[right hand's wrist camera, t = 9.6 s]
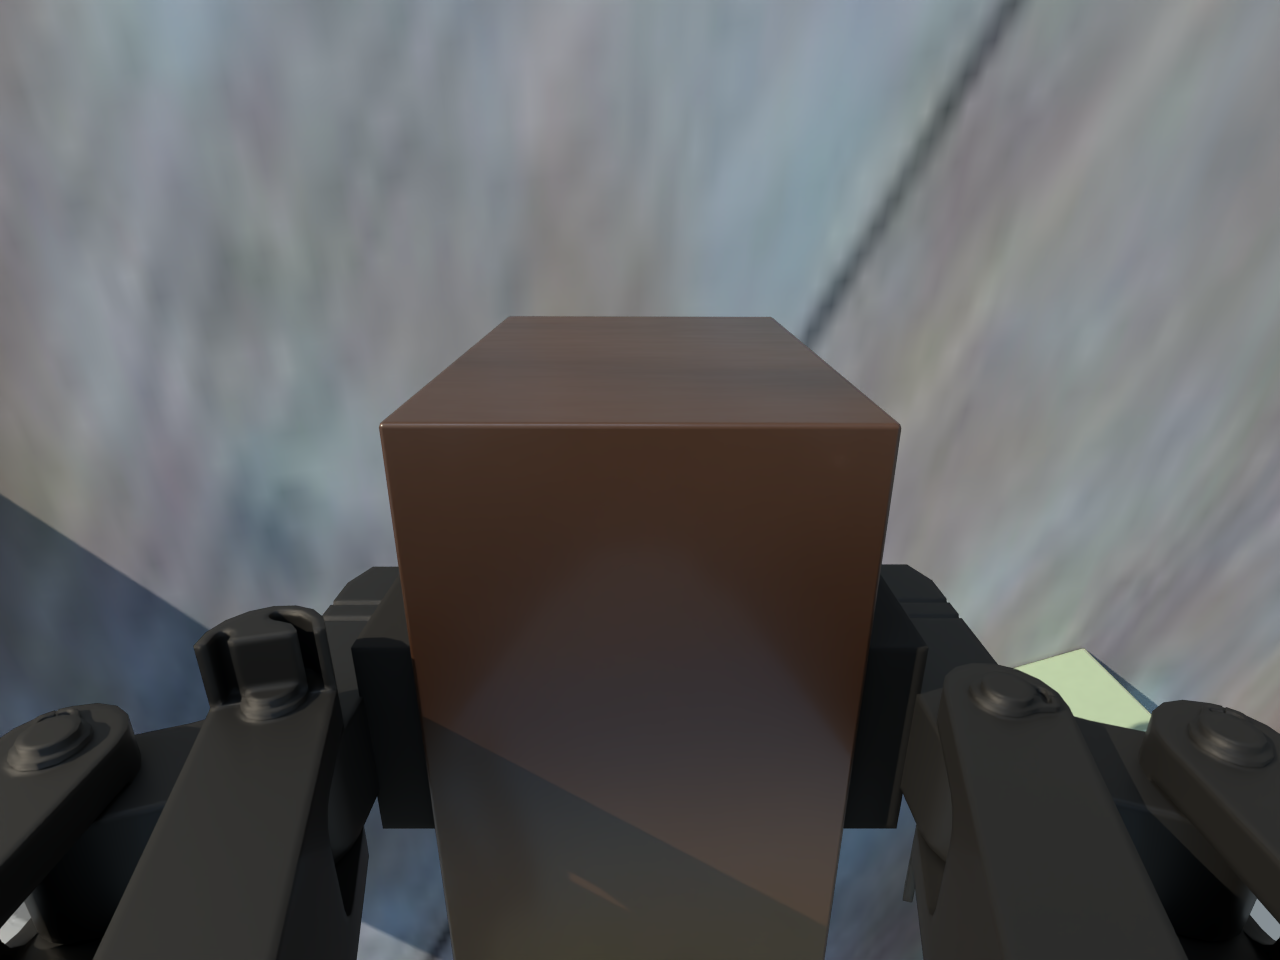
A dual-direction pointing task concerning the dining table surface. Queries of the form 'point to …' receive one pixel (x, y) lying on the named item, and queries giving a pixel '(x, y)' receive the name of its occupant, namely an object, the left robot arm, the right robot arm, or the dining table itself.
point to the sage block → (1089, 690)
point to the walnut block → (639, 631)
